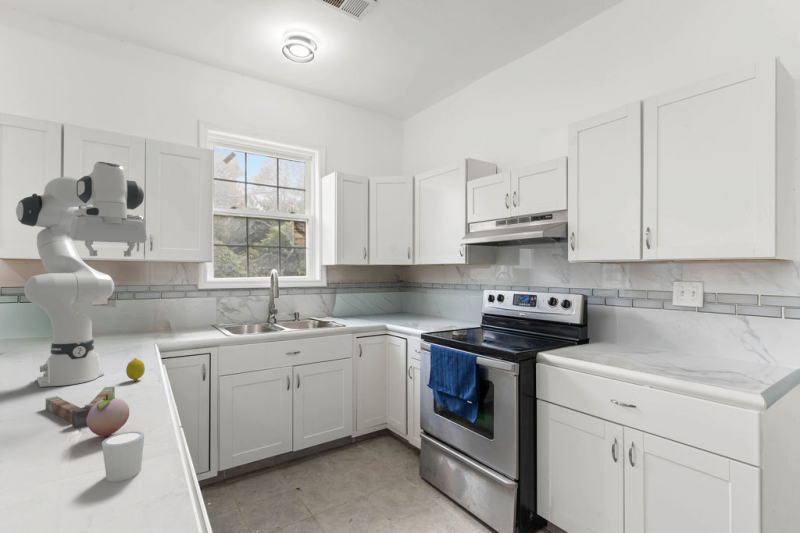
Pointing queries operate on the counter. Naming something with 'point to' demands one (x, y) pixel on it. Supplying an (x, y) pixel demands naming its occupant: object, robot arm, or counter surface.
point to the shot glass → (123, 455)
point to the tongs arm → (104, 394)
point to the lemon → (135, 369)
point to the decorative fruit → (107, 416)
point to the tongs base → (68, 411)
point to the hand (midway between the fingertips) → (110, 256)
